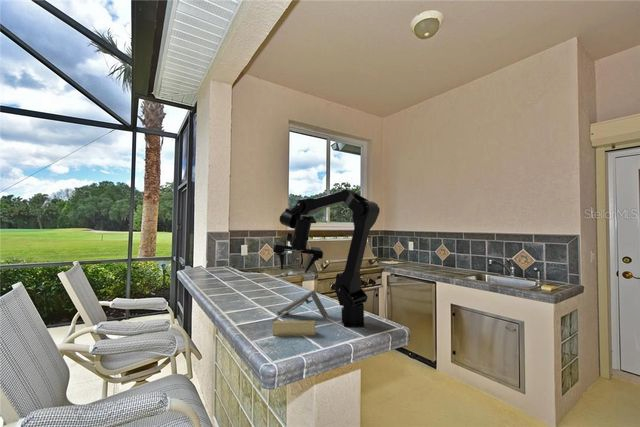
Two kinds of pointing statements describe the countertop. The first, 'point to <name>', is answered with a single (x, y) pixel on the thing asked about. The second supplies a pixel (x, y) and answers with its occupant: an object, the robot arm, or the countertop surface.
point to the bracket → (299, 302)
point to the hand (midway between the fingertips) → (293, 271)
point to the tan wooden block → (293, 328)
